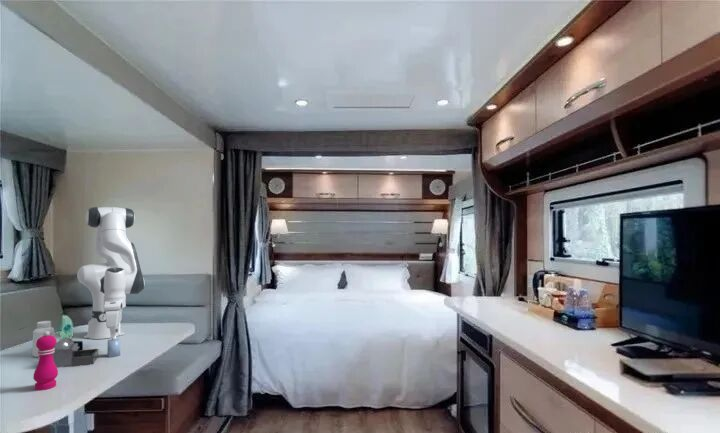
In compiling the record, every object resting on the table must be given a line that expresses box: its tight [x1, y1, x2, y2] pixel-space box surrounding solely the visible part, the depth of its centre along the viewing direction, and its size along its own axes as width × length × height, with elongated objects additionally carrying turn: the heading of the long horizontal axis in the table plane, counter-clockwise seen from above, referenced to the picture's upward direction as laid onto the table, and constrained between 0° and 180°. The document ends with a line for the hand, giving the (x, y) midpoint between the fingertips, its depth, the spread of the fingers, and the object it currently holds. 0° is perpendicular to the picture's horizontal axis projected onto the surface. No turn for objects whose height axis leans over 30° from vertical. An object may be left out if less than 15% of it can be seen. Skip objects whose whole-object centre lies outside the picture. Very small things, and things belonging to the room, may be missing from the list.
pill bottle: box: [31, 320, 55, 358], centre depth 199 cm, size 8×8×15 cm
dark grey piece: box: [53, 337, 99, 368], centre depth 187 cm, size 13×16×10 cm
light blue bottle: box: [106, 335, 121, 358], centre depth 197 cm, size 5×5×9 cm
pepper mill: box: [32, 331, 59, 391], centre depth 158 cm, size 7×7×20 cm
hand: (114, 334), depth 197 cm, fingers open, 8 cm apart
